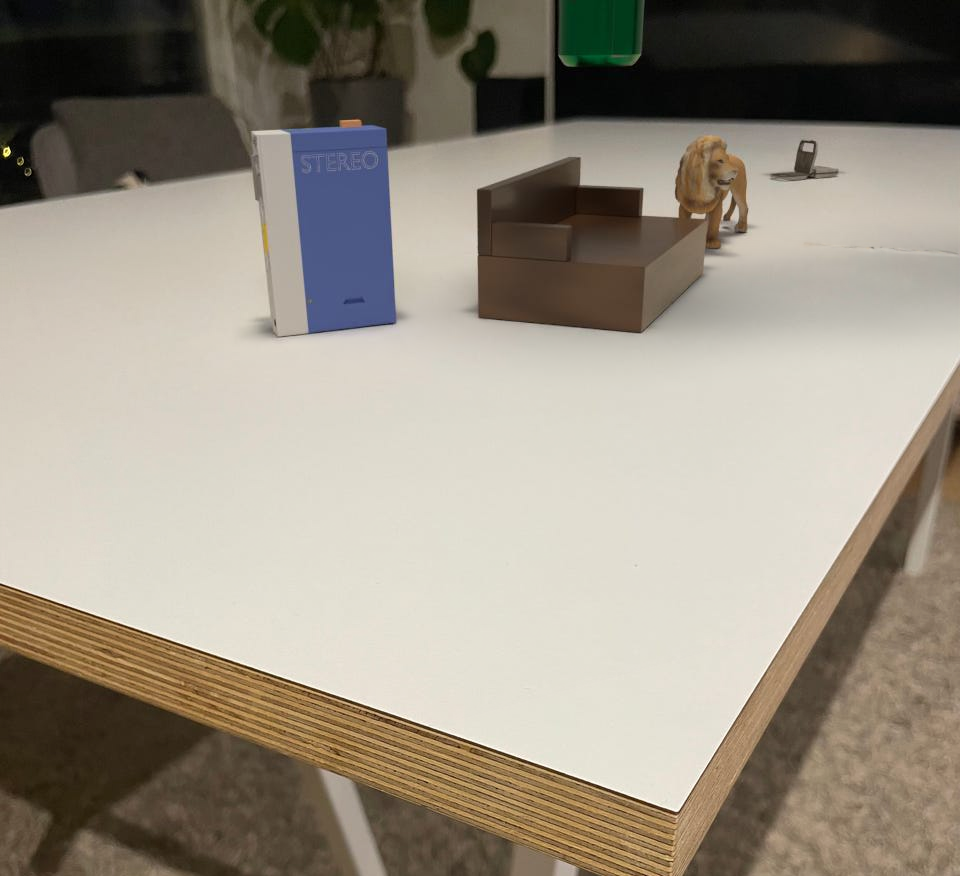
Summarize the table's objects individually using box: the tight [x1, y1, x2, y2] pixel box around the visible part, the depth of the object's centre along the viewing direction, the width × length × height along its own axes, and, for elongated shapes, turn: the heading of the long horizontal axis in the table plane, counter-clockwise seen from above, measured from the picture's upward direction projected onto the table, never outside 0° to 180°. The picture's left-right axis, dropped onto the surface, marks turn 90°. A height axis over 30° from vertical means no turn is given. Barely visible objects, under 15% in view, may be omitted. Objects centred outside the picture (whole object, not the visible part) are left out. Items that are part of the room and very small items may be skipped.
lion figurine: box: [674, 134, 749, 249], centre depth 89 cm, size 15×5×9 cm, turn 160°
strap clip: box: [769, 138, 839, 181], centre depth 124 cm, size 8×3×4 cm, turn 115°
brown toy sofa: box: [476, 156, 708, 334], centre depth 72 cm, size 11×18×8 cm, turn 157°
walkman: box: [250, 119, 397, 338], centre depth 64 cm, size 8×3×12 cm, turn 112°
